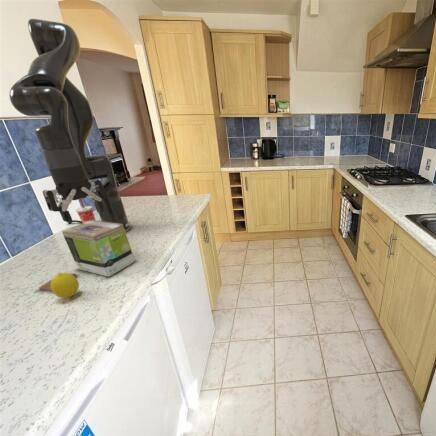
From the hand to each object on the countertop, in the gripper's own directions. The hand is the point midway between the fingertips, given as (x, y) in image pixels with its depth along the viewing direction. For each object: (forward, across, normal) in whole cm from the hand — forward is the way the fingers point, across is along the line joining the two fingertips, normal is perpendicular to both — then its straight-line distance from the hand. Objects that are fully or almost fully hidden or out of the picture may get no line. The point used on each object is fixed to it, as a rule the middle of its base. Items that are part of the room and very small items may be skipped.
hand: (86, 217), depth 75 cm
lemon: (+19, +13, +6) cm, 24 cm away
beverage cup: (+18, -19, -43) cm, 50 cm away
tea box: (+19, -1, -1) cm, 19 cm away
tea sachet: (+18, +11, -5) cm, 22 cm away
